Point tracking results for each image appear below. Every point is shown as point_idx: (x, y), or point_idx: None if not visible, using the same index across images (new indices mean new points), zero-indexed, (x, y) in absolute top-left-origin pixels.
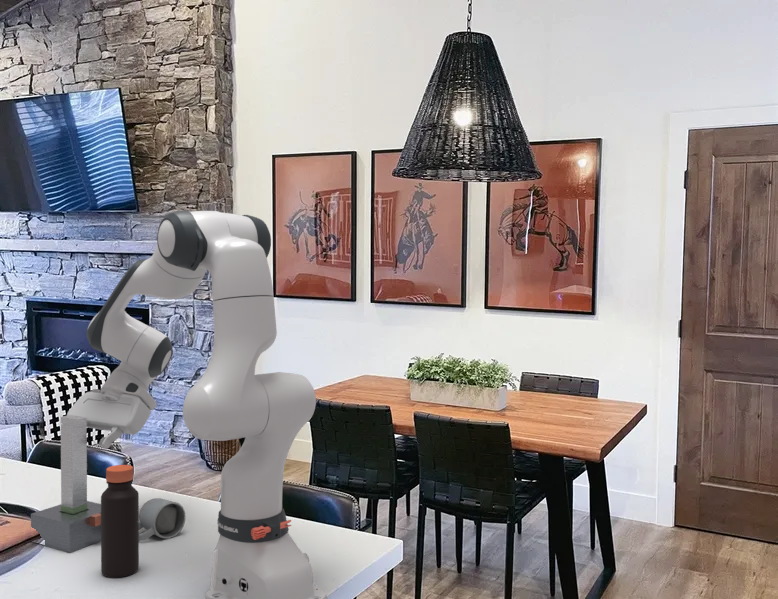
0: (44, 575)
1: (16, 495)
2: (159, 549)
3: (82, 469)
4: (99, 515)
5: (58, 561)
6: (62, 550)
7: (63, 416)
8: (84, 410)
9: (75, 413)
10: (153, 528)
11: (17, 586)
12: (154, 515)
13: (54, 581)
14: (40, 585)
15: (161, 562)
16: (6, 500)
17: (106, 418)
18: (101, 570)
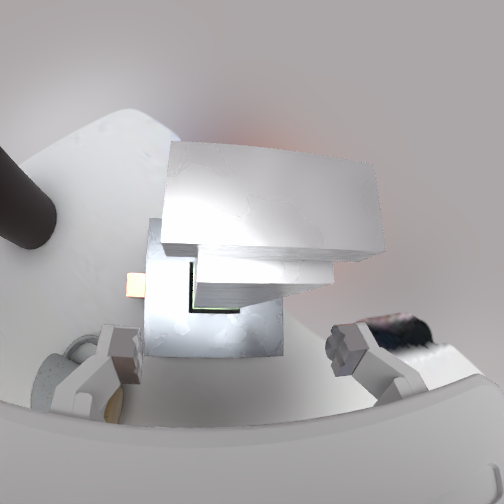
0: (123, 156)
1: (460, 370)
2: (37, 325)
3: (194, 283)
4: (127, 286)
5: (144, 201)
6: None
7: (370, 183)
8: (441, 444)
9: (465, 402)
10: (58, 354)
11: (130, 119)
12: (48, 361)
13: (95, 151)
14: (104, 134)
15: (5, 280)
16: (455, 348)
17: (166, 460)
18: (49, 198)
